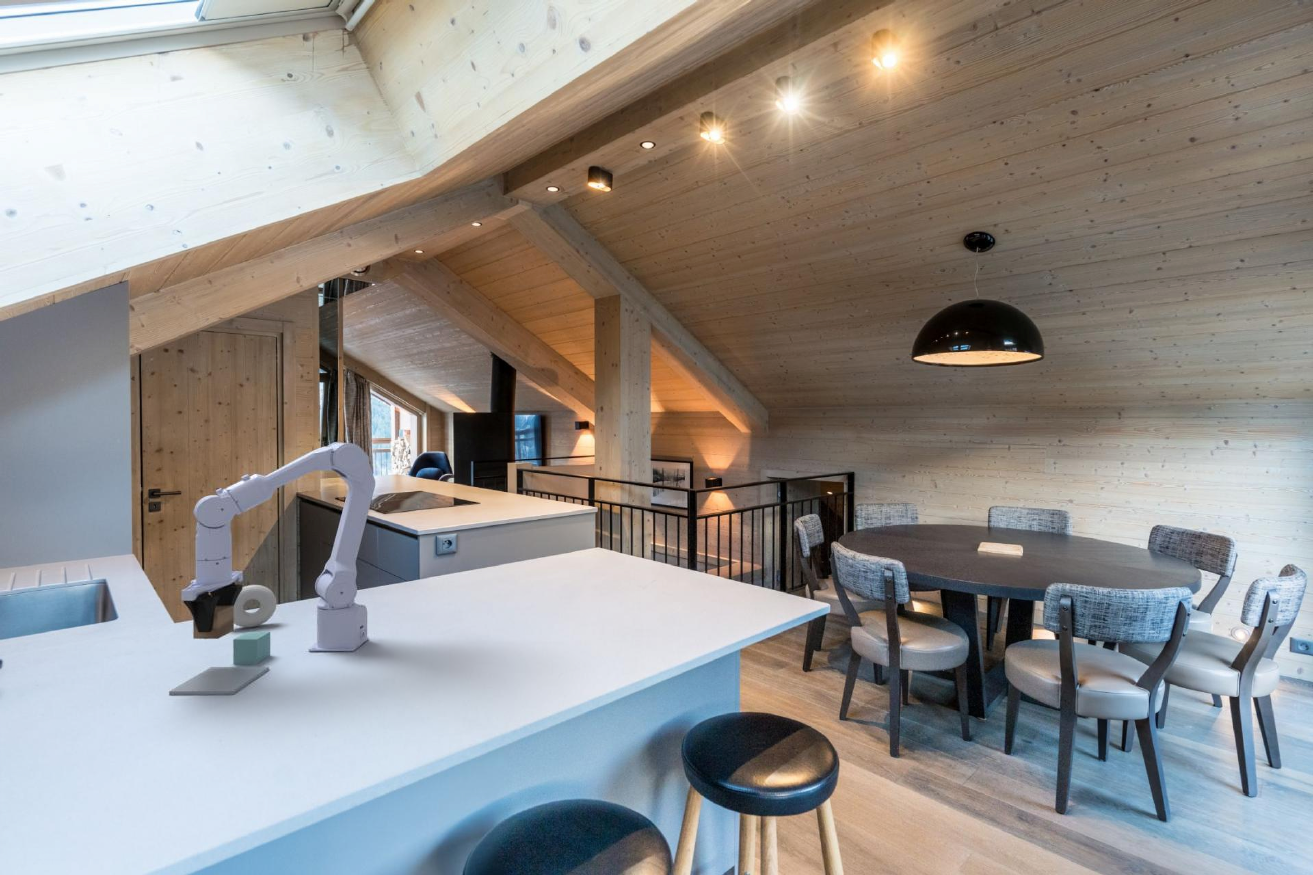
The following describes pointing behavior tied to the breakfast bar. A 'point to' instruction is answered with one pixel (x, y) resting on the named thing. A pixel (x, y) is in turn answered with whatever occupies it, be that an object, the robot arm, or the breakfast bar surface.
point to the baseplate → (219, 681)
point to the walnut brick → (218, 624)
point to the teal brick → (251, 648)
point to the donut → (259, 616)
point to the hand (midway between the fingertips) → (214, 627)
